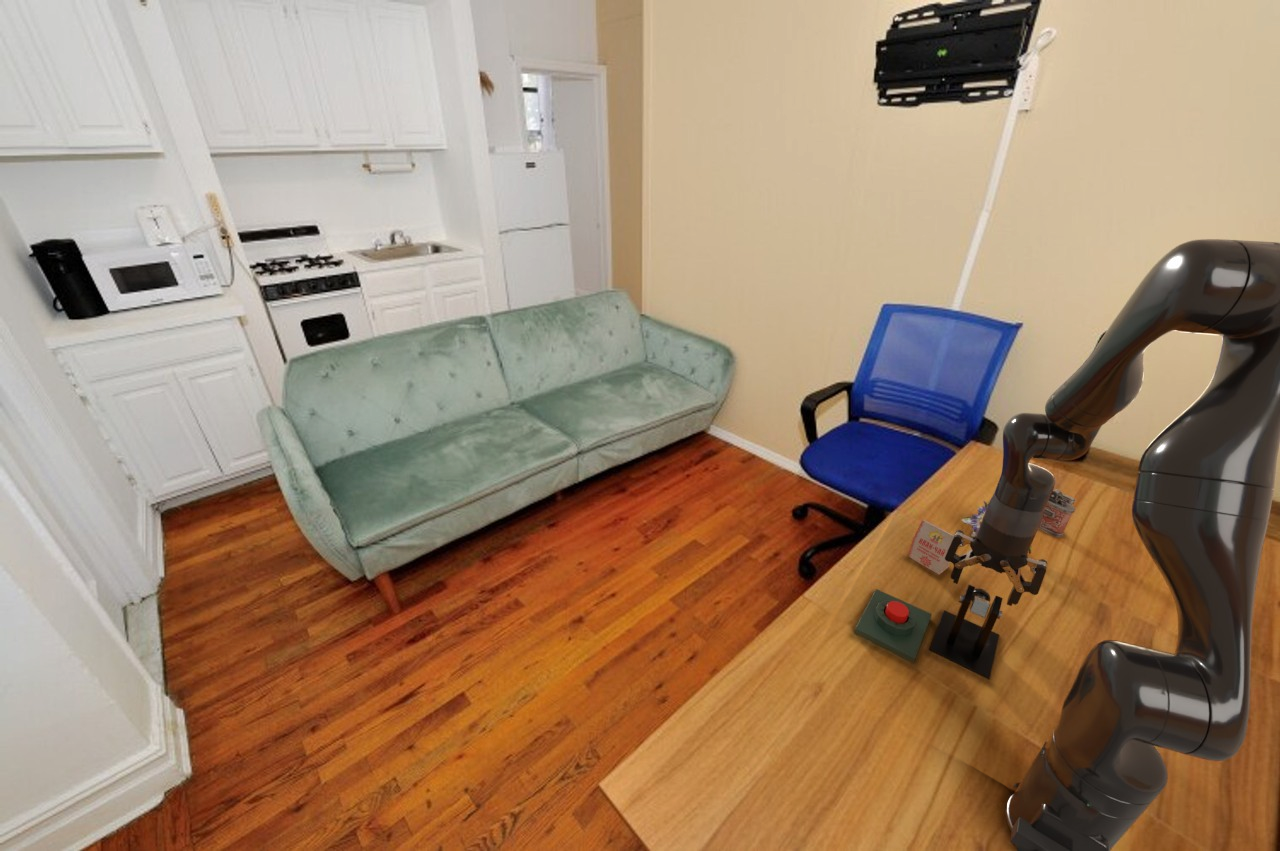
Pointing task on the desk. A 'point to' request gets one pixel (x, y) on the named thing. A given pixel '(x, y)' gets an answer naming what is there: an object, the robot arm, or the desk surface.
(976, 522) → the passion flower
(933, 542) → the tea bag
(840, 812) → the desk surface
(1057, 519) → the lighter
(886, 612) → the button
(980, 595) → the switch
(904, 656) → the button block
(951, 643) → the bracket
